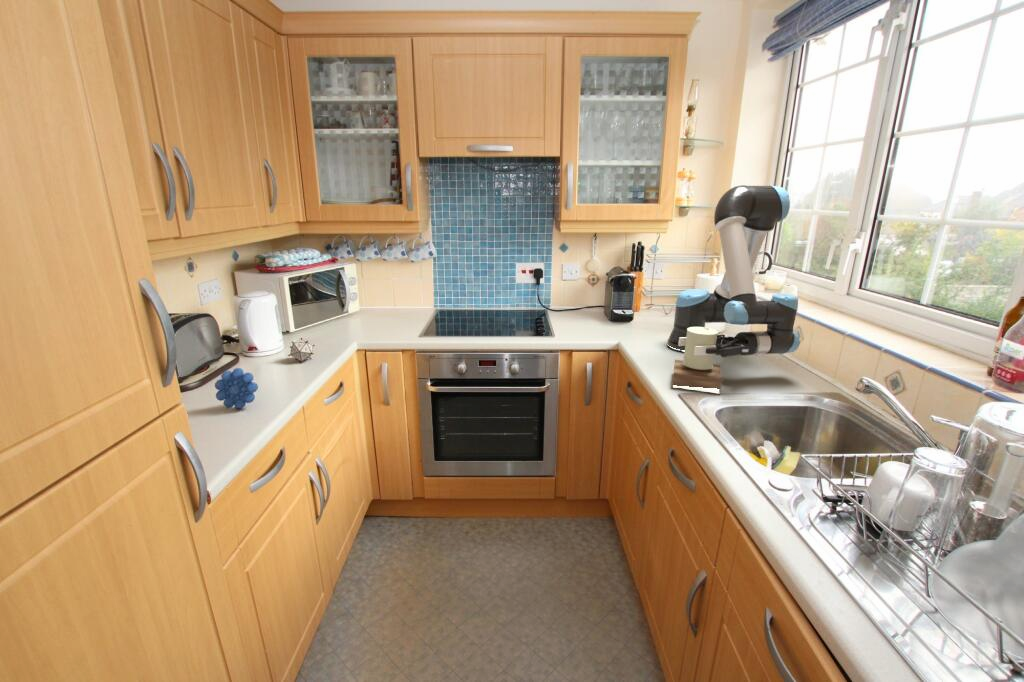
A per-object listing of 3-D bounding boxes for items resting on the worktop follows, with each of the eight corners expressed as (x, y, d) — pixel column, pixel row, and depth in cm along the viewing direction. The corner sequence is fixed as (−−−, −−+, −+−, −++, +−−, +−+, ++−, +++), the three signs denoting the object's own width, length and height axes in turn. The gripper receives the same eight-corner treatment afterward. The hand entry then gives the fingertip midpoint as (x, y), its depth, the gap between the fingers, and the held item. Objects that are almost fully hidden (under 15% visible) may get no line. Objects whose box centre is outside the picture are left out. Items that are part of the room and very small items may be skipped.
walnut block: (673, 373, 161) (675, 359, 160) (717, 379, 157) (719, 364, 155) (672, 388, 149) (673, 373, 147) (719, 394, 144) (722, 379, 143)
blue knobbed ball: (268, 402, 135) (262, 362, 131) (256, 412, 128) (249, 371, 125) (227, 402, 134) (220, 362, 131) (213, 412, 128) (205, 371, 124)
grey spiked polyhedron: (299, 372, 168) (279, 355, 162) (302, 357, 174) (282, 340, 168) (320, 360, 167) (300, 342, 161) (322, 346, 174) (303, 328, 167)
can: (717, 365, 151) (723, 329, 147) (705, 372, 145) (710, 334, 141) (690, 358, 157) (695, 323, 154) (677, 364, 151) (681, 328, 147)
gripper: (772, 365, 143) (704, 368, 139) (729, 344, 163) (669, 347, 159) (776, 341, 141) (708, 344, 137) (732, 323, 161) (671, 325, 157)
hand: (687, 346), depth 148 cm, fingers closed on can, 9 cm apart
